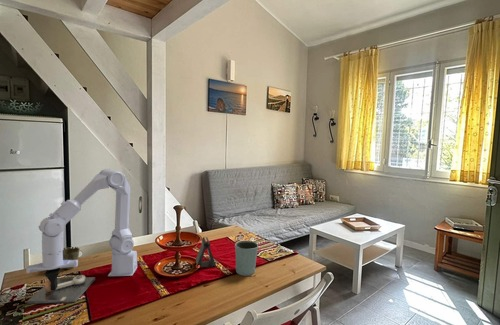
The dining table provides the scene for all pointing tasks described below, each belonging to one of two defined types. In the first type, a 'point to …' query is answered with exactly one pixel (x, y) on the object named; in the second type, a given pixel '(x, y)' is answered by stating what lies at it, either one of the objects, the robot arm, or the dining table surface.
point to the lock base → (62, 292)
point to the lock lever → (76, 281)
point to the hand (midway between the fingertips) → (53, 288)
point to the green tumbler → (246, 257)
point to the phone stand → (200, 255)
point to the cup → (70, 254)
